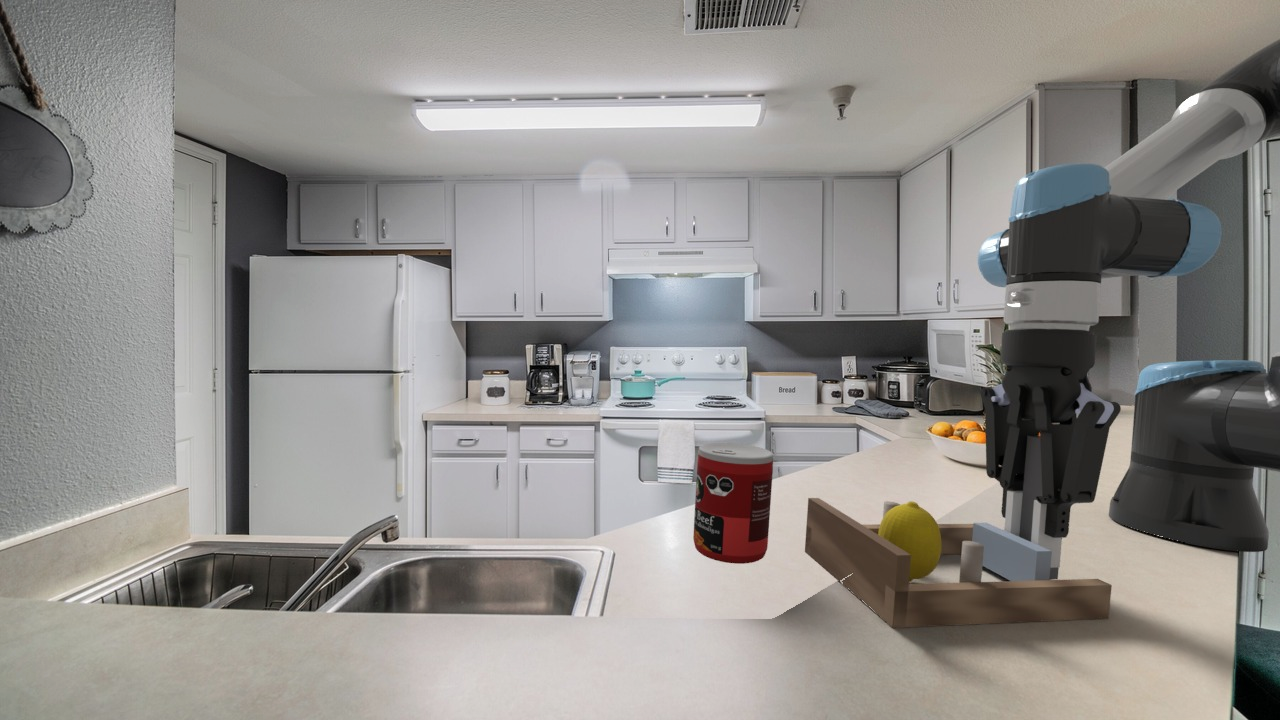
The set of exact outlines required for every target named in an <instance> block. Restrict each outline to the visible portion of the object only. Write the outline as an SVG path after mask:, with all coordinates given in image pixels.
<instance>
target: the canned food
mask: <svg viewBox="0 0 1280 720" xmlns="http://www.w3.org/2000/svg"><path fill="white" fill-rule="evenodd" d="M696 463H697V464H696V483H695V500H694V503H695V505H694V519H693V537H692V538H693V544H694V548H695V549H696V551H698V553H700V554H701V555H702V556H704V557H706V558H708V559H710V560H713V561H717V562H721V563H727V564H734V565H736V564H742V565H743V564H752V563H756V562H759V561H760V560H762V559H764V557H765V556H766V553H767V550H768V548H769V547H768V545H769V544H768V543H769V533H770V531H769V530H770V529H769V527H770V518H771V517H770V515H771V503H772V502H771V500H772V489H773V488H772V487H773V474H774V471H773V470H774V468H773V467H774V453H773V452H772V451H770V450H769V449H766V448H763V447H759V446H756V445H749V444H743V443H729V442H715V443H713V442H712V443H706V444H702V445H700V446H698V451H697V462H696Z"/></svg>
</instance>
